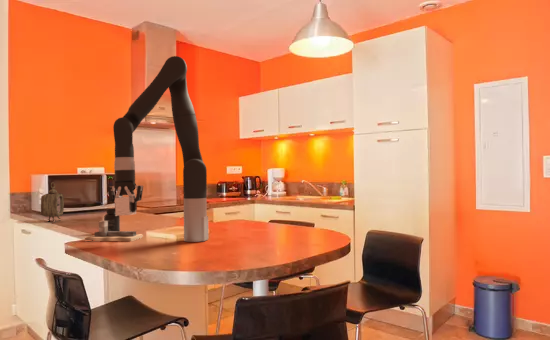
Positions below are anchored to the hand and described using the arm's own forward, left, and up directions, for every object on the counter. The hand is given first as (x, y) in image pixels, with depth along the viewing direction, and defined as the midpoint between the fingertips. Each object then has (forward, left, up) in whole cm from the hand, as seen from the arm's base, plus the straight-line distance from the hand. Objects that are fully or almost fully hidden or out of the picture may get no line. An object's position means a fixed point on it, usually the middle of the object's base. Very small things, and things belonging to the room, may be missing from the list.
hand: (125, 212), depth 154 cm
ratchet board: (+11, -12, -12) cm, 21 cm away
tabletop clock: (+92, -85, -13) cm, 126 cm away
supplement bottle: (+22, -30, -13) cm, 39 cm away
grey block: (0, 0, -1) cm, 1 cm away
